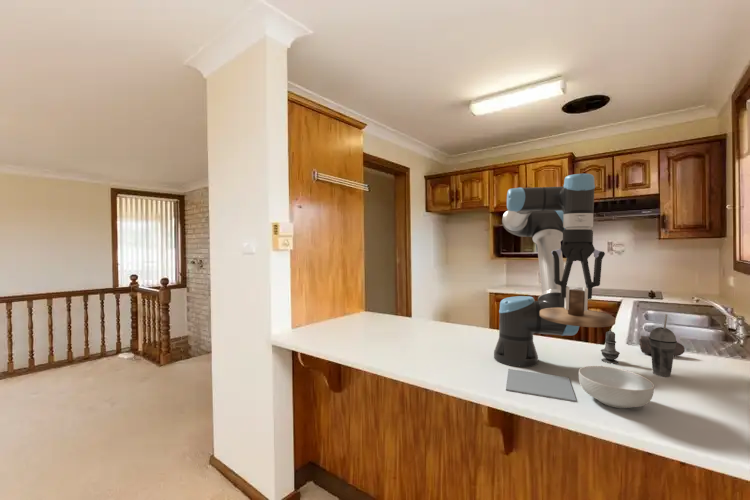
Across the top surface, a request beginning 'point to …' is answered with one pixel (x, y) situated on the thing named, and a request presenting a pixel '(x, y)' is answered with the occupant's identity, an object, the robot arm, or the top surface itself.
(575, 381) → the top surface
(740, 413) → the top surface
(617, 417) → the top surface
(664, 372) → the beverage cup
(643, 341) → the perforated stone tool
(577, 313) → the lid
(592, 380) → the cereal bowl
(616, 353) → the salt shaker
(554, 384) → the mat
